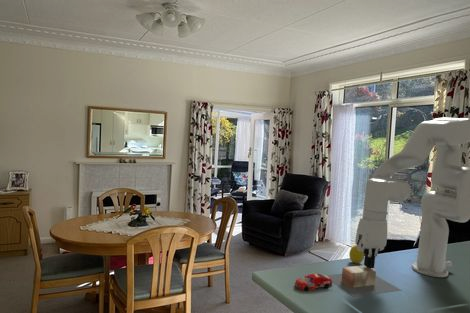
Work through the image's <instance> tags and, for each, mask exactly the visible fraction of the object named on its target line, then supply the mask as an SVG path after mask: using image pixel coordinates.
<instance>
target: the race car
mask: <svg viewBox="0 0 470 313" xmlns="http://www.w3.org/2000/svg"><path fill="white" fill-rule="evenodd" d="M294 286H295V288H296V289H298V290H301V291H304V292H308V291H314V290H321V289H322V290H323V289H324V290H325V289H329V288H330V287H332V286H333V282H332V280H331V278H329V277H328V276H326V275H325V274H321V273H311V274H308V275H304V277H300V278H297V279H296V280H295V282H294Z"/></svg>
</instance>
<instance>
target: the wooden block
mask: <svg viewBox="0 0 470 313" xmlns="http://www.w3.org/2000/svg"><path fill="white" fill-rule="evenodd" d="M341 274H342V280H341V281H342V282H343V283H345V284H346V285H348V286H349V287H351V288H353V287H362V286H370V285H375V277H376V276H377V270H375V269H374V268H368V267H366V266H364V264H363V265H356V266H346V267H345V266H342V273H341Z"/></svg>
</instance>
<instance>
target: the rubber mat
mask: <svg viewBox="0 0 470 313" xmlns="http://www.w3.org/2000/svg"><path fill="white" fill-rule="evenodd" d="M326 276H328V277H329V278H331V280H332V284H334V285H336V286H337V287H339V288H340V289H342V290H343V291H344V292H346V293H347V294H349V295H351V297H353V298H354V297H361V296H362V297H363V296H370V295H371V296H372V295H377V294H386V293H391V292H399V291H402V289H400V288H398V287H397V286H395V285H393V284H391V283H389V282H388V281H386V280H385V279H383V278H382V277H379V276H377V275H376V277H375V285H370V286H362V287H353V288H351V287H349V286H348V285H346V284H345V283H343V282H342V281H341V280H342V273H337V274H327V275H326Z"/></svg>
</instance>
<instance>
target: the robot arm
mask: <svg viewBox="0 0 470 313" xmlns="http://www.w3.org/2000/svg"><path fill="white" fill-rule="evenodd" d="M468 143H470V117H469V118H466V117H460V118H459V117H438V118H434V119H432V120H426V121H422V122H420V123H419V124H418V125H416V127H415V129H414V130H413V132H412V133H411V135H410V136H409V137H408V140H406V143H405V144H404V146H403V147H402V149H401V150H400V151H399V152H397V153H396V154H393V155H392V156H391V157H389V158H387V159H386V160H384V161H382V163H381V164H379V166H378V167H377V168H376V169H375V171H374V173H373V174H372V177H371V178H368V179H367V180H366V182H365V189H364V199H363V200H364V201H363V208H362V209H363V210H362V216H361V217H360V218H359V221H358V224H357V229H356V234H355V245H358V248H357V250H359V251H361V252H363V254H364V259H363V265H364V266H366V267H368V268H372V269H374V268H375V263H376V261H375V260H376V257H378V254H379V253H380V252H381V251H384V250H385V247H386V246H387V241H388V240H387V239H388V220H387V216H388V206H389V201H391V202H397V203H398V202H399V203H400V202H404V201H406V200H407V199H409V198H410V197H411V195H412V187H411V185H410V184H409V183H408V182H407V181H404V180H402V179H398V178H393V176H394V175H395V174H397V173H399V172H401V171H404V170H409V169H413V168H415V167H416V168H417V167H419V166H422V165H424V164H425V162H426V160H427V159H428V157H429V156H430V153H431V152H432V150H434V147H436V156H435V161H434V164H433V169H432V173H431V181H430V182H431V184H432V185H433V186H434V187H436V188H438V189H442V190H447V191H453V192H456V194H452V193H449V192H448V193H447V192H442V191H439V190H438V191H436V190H431V191H427V192H425V193H424V194H423V195H422V197H421V199H420V208H421V223H420V224H421V225H420V231H419V232H420V234H419V242H418V247H417V248H418V250H417V259H416V261H415V262H414V263H412V264H411V268H412V270H414V271H415V272H417V273H420V274H422V275H425V276H428V277H434V278H446V277H448V276H449V271H448V270H447V267H452V266H453V263H452V261H450V260H448V261H446V257H447V248H448V241H449V233H450V229H449V224H448V222H447V220H449V221H452V222H456V223H457V222H458V223H466V222H468V221H469V220H470V167H469V166H468V167H467V166H461V163H462V158H463V150H462V148H461V146H460V145H464V144H468Z"/></svg>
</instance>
